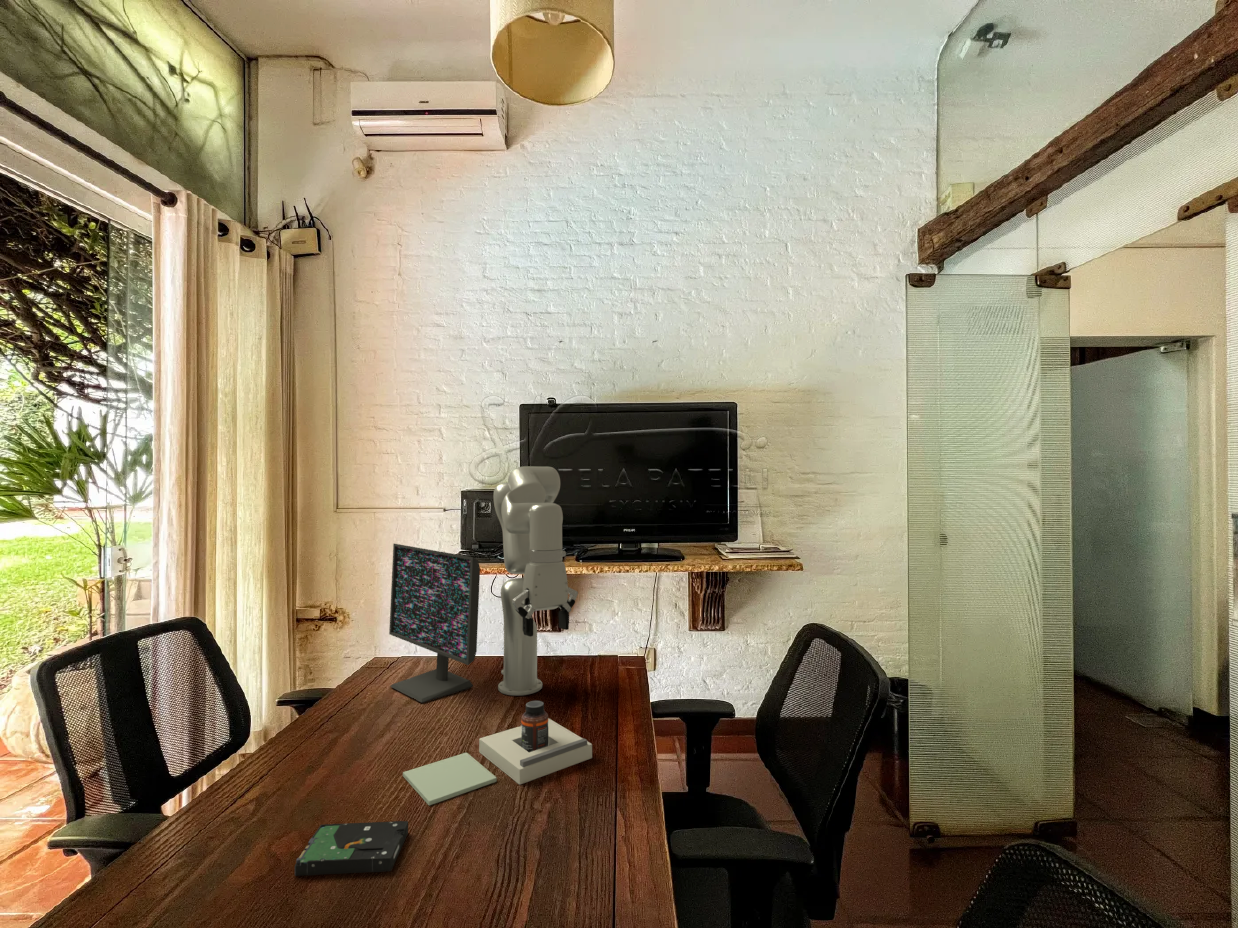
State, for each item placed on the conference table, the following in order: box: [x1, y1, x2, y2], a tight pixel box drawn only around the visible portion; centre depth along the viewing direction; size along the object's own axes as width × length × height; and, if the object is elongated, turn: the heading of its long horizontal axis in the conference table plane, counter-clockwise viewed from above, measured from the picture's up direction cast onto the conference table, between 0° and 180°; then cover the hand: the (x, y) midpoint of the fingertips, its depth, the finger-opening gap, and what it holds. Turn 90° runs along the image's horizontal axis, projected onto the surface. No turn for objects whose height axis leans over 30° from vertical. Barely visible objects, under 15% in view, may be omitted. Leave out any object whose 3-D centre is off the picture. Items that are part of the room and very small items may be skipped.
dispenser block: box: [478, 717, 593, 785], centre depth 134 cm, size 18×18×4 cm
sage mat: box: [402, 752, 498, 806], centre depth 123 cm, size 14×14×1 cm
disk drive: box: [294, 820, 409, 877], centre depth 99 cm, size 10×3×15 cm
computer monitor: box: [388, 543, 481, 704], centre depth 175 cm, size 44×16×40 cm, turn 47°
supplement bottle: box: [520, 700, 549, 752], centre depth 134 cm, size 6×6×11 cm
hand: (546, 631), depth 139 cm, fingers open, 9 cm apart
